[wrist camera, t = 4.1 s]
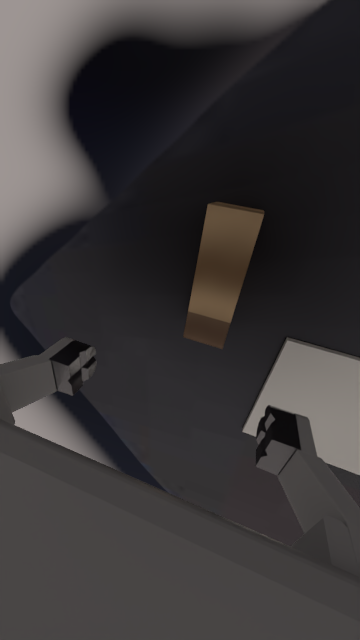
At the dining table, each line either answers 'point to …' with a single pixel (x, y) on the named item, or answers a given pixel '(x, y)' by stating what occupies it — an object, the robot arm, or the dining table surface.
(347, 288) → the dining table surface
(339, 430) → the mat
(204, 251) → the wooden block
